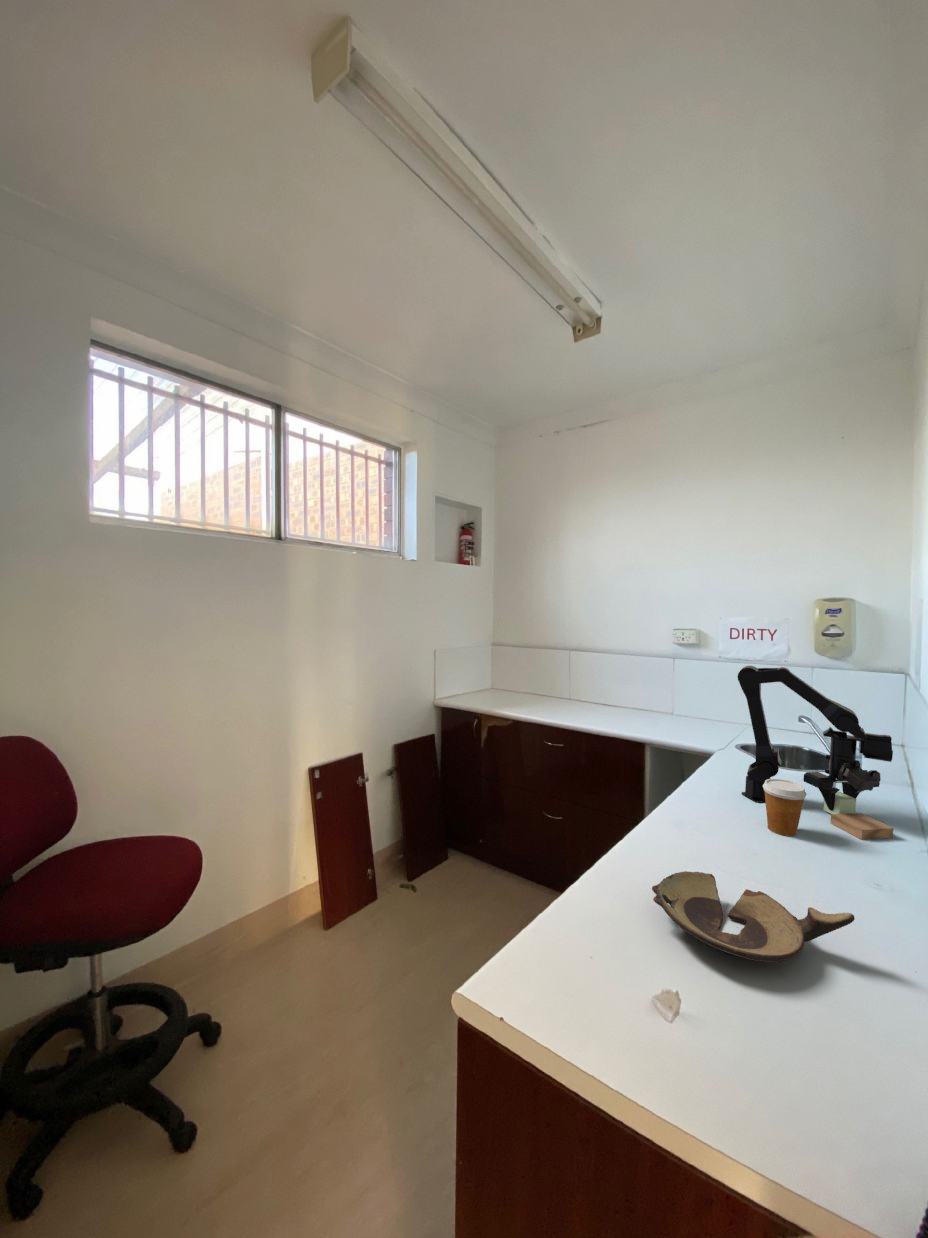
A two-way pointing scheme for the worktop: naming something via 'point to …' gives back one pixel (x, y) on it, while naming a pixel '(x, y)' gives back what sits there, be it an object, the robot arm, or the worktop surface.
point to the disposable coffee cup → (783, 805)
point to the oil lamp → (741, 918)
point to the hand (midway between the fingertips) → (839, 809)
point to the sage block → (842, 804)
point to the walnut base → (861, 826)
